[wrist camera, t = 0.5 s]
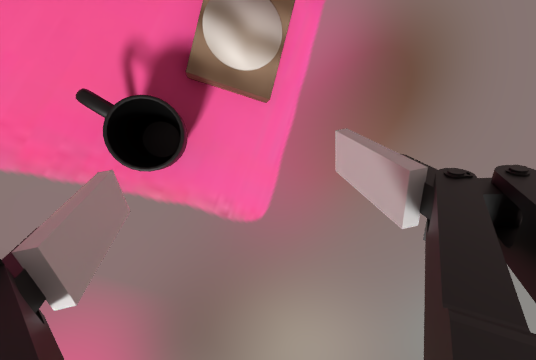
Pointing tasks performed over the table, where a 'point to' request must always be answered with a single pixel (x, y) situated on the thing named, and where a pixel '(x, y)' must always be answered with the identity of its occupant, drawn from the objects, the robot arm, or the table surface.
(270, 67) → the wooden coaster block
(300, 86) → the table surface
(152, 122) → the mug
